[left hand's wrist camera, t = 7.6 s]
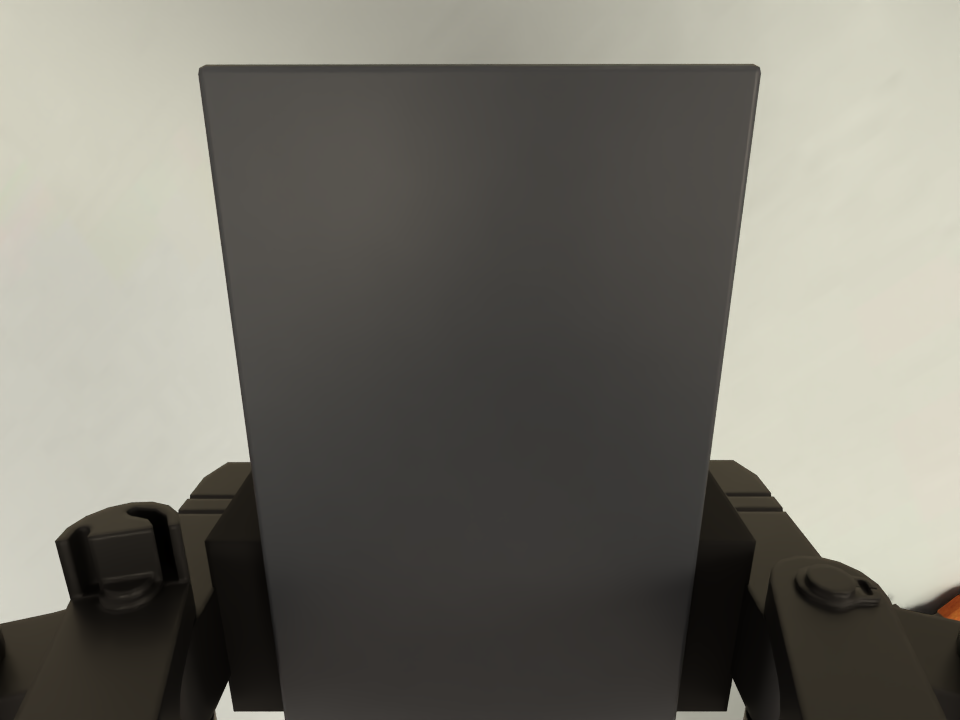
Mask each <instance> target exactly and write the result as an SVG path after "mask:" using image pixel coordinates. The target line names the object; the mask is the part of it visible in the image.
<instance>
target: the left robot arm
mask: <svg viewBox="0 0 960 720" xmlns="http://www.w3.org/2000/svg"><path fill="white" fill-rule="evenodd" d="M55 543H56V547H57V550H58V554H59V558H60V562H61V565H62V569H63V573H64V577H65V580H66V584H67V588H68V592H69V595H70V599H71V600H70V602H69V604H68V606H67V608H66V609H65V610H62V611H58V612H54V613H50V614H45V615H41V616H36V617H31V618H26V619H22V620H17V621H12V622H7V623H3V624H0V720H217V718H216V713H215V709H216V707H217V705H218V702H219V700H220V698H221V696H222V694H223V691H224V689H225V687H226V685H227V683H228V680H229V686H230V692H231V698H232V703H233V709H234V711H284V708H283V701H282V693H281V686H280V678H279V671H278V663H277V656H276V648H275V641H274V634H273V626H272V619H271V611H270V604H269V596H268V589H267V581H266V574H265V567H264V559H263V552H262V544H261V537H260V529H259V522H258V514H257V507H256V499H255V492H254V485H253V477H252V470H251V462H228V463H226V464H224V465H223V466H221V467H220V468H218V469H217V470H215V471H213V472H212V473H210V474H209V475H207V476H206V477H204V478H203V480H202V481H201V482H200V483H199V485H198V486H197V487H196V488H195V490H194V491H193V492H192V494H191V495H190V499H187V500H186V501H185V503H184V504H183V505H182V506H181V508H180V509H179V512H176V511H175V510H174V509H173V508H171V507H170V506H169V505H165V504H160V503H156V502H132V503H127V504H122V505H118V506H113V507H109V508H106V509H103V510H101V511H98V512H96V513H93V514H91V515H88V516H86V517H84V518H82V519H81V520H79V521H78V522H76V523H74V524H73V525H71V526H70V527H68V528H67V529H66V530H65V531H64V532H63V533H62V534H61V535H60V536H59V537H58V539H57V540H56V541H55ZM732 678H733V680H734V682H735V684H736V687H737V689H738V691H739V693H740V695H741V698H742V700H743V702H744V704H745V706H746V707H745V713H744V718H743V720H960V621H958V620H953V619H948V618H943V617H939V616H934V615H929V614H924V613H920V612H915V611H910V610H906V609H902V608H899V607H895V606H893V605H892V603H891V601H890V599H889V598H888V596H887V595H886V594H885V592H884V591H883V590H882V589H881V587H880V586H879V585H878V584H877V583H876V582H874V581H873V580H871V579H870V578H869V577H867V576H866V575H865V574H863V573H862V572H860V571H858V570H856V569H854V568H852V567H849V566H847V565H845V564H843V563H841V562H838V561H834V560H830V559H826V558H822V557H821V556H820V555H819V553H818V552H817V551H816V550H815V548H814V547H813V546H812V545H811V543H810V542H809V541H808V539H807V538H806V537H805V536H804V534H803V533H802V532H801V531H800V529H799V528H798V527H797V526H796V524H795V523H794V522H793V520H792V519H791V518H790V517H789V515H788V514H787V513H786V512H783V508H782V506H781V505H780V504H779V503H778V501H777V500H776V499H775V498H774V497H771V493H770V491H769V490H768V489H767V487H766V486H765V485H764V484H763V482H762V481H761V480H760V479H759V477H758V476H757V475H756V474H754V473H752V472H751V471H749V470H748V469H746V468H745V467H743V466H741V465H740V464H738V463H737V462H735V461H734V460H710V462H709V470H708V477H707V485H706V492H705V500H704V507H703V515H702V523H701V530H700V538H699V545H698V553H697V560H696V568H695V575H694V583H693V591H692V598H691V606H690V613H689V621H688V628H687V636H686V644H685V651H684V659H683V666H682V674H681V681H680V689H679V697H678V704H677V711H727V707H728V701H729V695H730V689H731V684H732Z"/></svg>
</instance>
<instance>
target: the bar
mask: <svg viewBox="0 0 960 720" xmlns="http://www.w3.org/2000/svg"><path fill="white" fill-rule="evenodd" d="M198 75H199V82H200V90H201V97H202V105H203V112H204V120H205V127H206V134H207V142H208V149H209V157H210V164H211V172H212V179H213V187H214V194H215V202H216V209H217V216H218V224H219V231H220V239H221V246H222V254H223V261H224V269H225V276H226V283H227V291H228V298H229V306H230V313H231V321H232V328H233V336H234V343H235V350H236V358H237V365H238V373H239V380H240V388H241V395H242V403H243V410H244V418H245V425H246V432H247V440H248V447H249V455H250V462H251V470H252V477H253V485H254V492H255V499H256V507H257V514H258V522H259V529H260V537H261V544H262V552H263V559H264V567H265V574H266V581H267V589H268V596H269V604H270V611H271V619H272V626H273V634H274V641H275V648H276V656H277V663H278V671H279V678H280V686H281V693H282V701H283V708H284V716H285V720H675V719H676V712H677V704H678V697H679V689H680V681H681V674H682V666H683V659H684V651H685V644H686V636H687V628H688V621H689V613H690V606H691V598H692V591H693V583H694V575H695V568H696V560H697V553H698V545H699V538H700V530H701V523H702V515H703V507H704V500H705V492H706V485H707V477H708V470H709V462H710V454H711V447H712V439H713V432H714V424H715V417H716V409H717V401H718V394H719V386H720V379H721V371H722V364H723V356H724V348H725V341H726V333H727V326H728V318H729V311H730V303H731V295H732V288H733V280H734V273H735V265H736V258H737V250H738V243H739V235H740V227H741V220H742V212H743V205H744V197H745V190H746V182H747V174H748V167H749V159H750V152H751V144H752V137H753V129H754V121H755V114H756V106H757V99H758V91H759V84H760V76H761V71H760V67H758V66H756V65H754V64H369V65H204V66H202V67H200V68H199V73H198Z"/></svg>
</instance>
